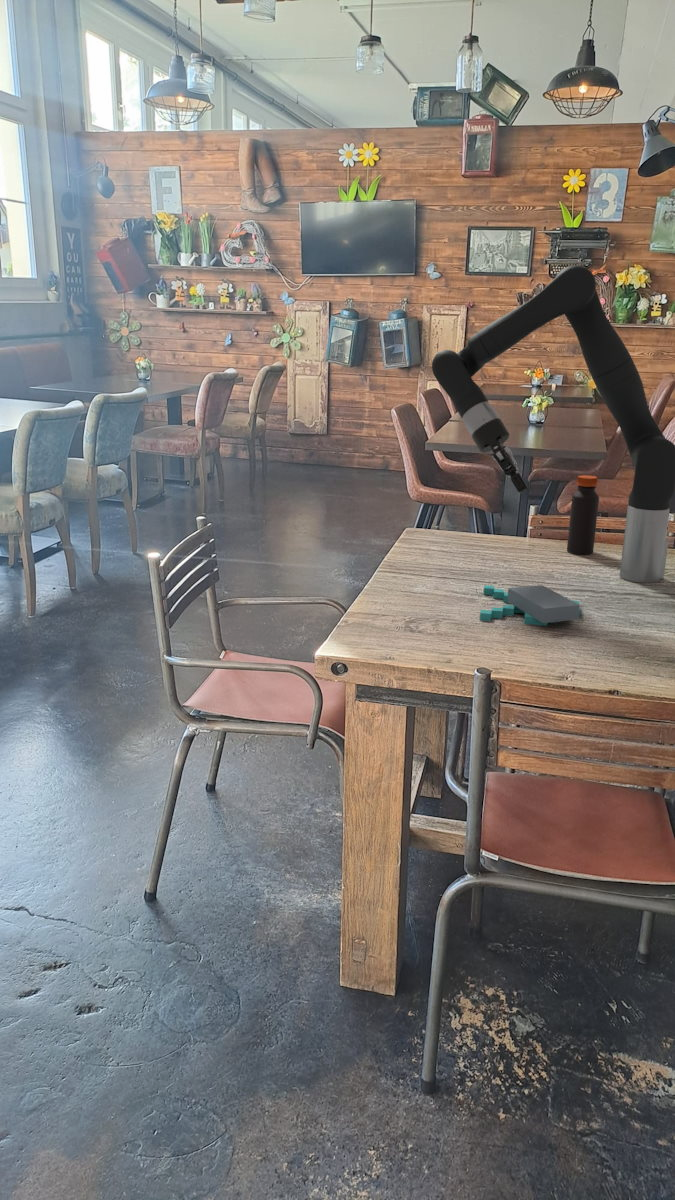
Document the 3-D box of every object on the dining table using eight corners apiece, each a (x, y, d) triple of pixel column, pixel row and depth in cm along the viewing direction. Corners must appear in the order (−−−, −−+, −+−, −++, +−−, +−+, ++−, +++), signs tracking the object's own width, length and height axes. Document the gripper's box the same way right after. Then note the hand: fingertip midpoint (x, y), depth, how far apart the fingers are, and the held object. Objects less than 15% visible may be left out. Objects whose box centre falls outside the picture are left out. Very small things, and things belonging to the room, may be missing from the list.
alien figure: (479, 623, 173) (581, 631, 169) (480, 613, 172) (582, 621, 168) (483, 594, 192) (575, 601, 188) (484, 585, 191) (576, 591, 187)
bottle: (597, 554, 224) (606, 478, 218) (574, 555, 222) (581, 479, 216) (585, 548, 230) (593, 474, 224) (562, 549, 229) (569, 474, 222)
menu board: (541, 585, 181) (579, 605, 168) (540, 598, 182) (578, 619, 169) (508, 588, 178) (544, 608, 166) (507, 601, 179) (543, 623, 167)
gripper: (493, 411, 187) (533, 477, 184) (505, 423, 199) (543, 485, 196) (464, 430, 190) (503, 496, 186) (478, 441, 202) (515, 503, 198)
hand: (523, 490), depth 191 cm, fingers closed
